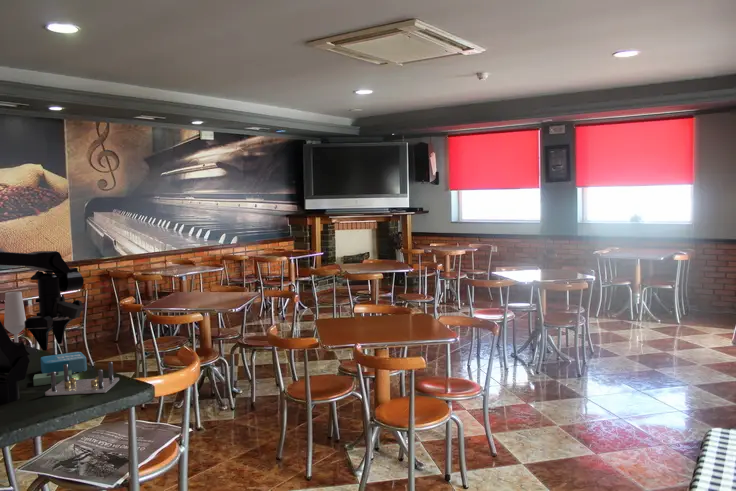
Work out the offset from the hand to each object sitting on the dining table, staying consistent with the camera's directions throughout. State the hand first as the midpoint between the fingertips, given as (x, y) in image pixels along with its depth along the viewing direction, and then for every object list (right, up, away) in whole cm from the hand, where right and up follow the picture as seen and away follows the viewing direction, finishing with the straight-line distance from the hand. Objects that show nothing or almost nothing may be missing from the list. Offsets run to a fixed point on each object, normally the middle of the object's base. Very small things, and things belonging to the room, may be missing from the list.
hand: (52, 347), depth 179 cm
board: (-2, -11, +4) cm, 12 cm away
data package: (-8, -8, +21) cm, 23 cm away
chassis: (+11, -11, -5) cm, 16 cm away
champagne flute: (-28, -10, +30) cm, 42 cm away
